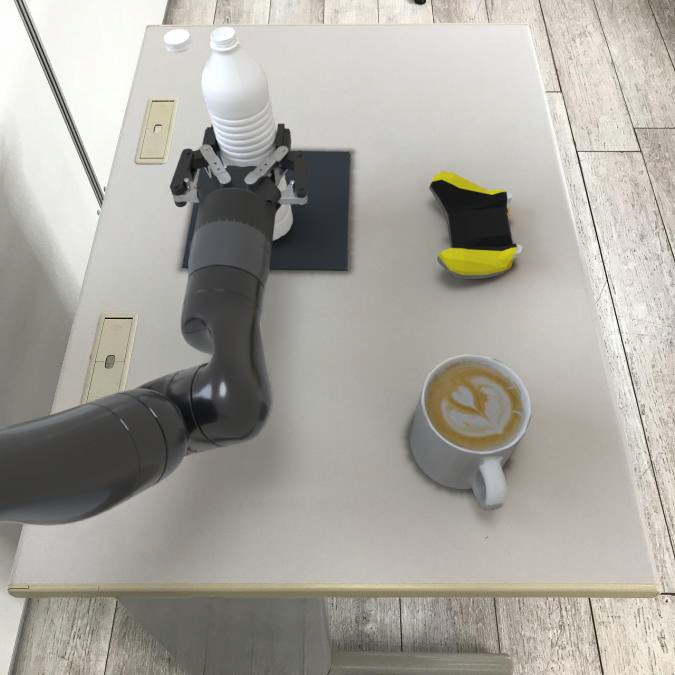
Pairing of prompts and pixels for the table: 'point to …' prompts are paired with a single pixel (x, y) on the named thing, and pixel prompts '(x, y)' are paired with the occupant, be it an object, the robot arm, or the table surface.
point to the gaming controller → (474, 227)
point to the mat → (309, 217)
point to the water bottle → (237, 106)
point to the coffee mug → (470, 425)
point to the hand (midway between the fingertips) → (249, 129)
